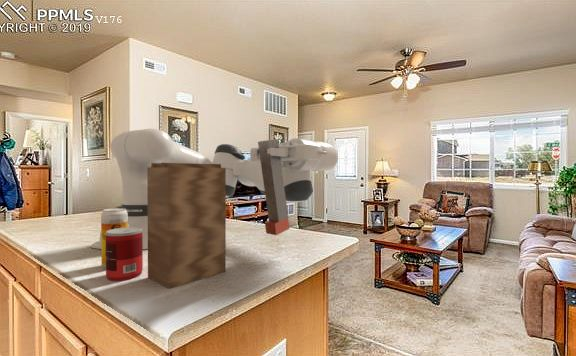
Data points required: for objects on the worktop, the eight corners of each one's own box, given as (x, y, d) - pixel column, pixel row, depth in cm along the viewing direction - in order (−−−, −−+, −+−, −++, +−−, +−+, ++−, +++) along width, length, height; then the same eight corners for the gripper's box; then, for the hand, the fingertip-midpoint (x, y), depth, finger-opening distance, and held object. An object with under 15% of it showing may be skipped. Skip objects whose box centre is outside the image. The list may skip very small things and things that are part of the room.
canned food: (148, 270, 77) (148, 227, 77) (131, 281, 69) (130, 233, 69) (119, 269, 78) (118, 226, 77) (98, 281, 70) (97, 233, 69)
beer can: (104, 270, 77) (104, 211, 76) (99, 265, 81) (98, 209, 81) (130, 266, 81) (130, 209, 80) (124, 261, 85) (124, 207, 85)
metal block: (267, 140, 77) (253, 142, 73) (277, 139, 74) (263, 141, 71) (279, 227, 80) (266, 233, 77) (289, 228, 78) (276, 235, 75)
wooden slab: (203, 263, 83) (203, 164, 83) (225, 271, 77) (225, 164, 76) (147, 277, 72) (147, 163, 71) (168, 288, 65) (168, 162, 65)
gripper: (330, 166, 76) (295, 164, 66) (272, 166, 90) (235, 165, 80) (330, 140, 76) (295, 135, 66) (272, 145, 90) (235, 141, 79)
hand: (261, 152), depth 73 cm, fingers closed on metal block, 3 cm apart
